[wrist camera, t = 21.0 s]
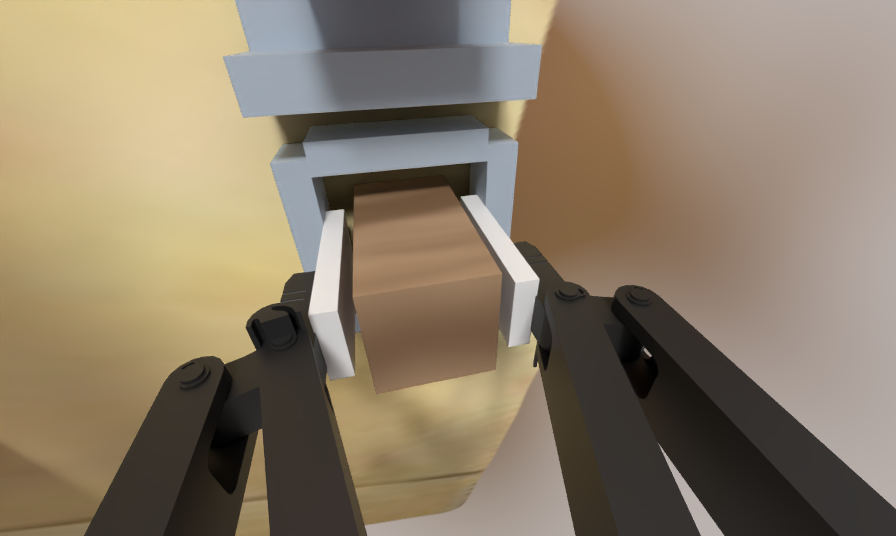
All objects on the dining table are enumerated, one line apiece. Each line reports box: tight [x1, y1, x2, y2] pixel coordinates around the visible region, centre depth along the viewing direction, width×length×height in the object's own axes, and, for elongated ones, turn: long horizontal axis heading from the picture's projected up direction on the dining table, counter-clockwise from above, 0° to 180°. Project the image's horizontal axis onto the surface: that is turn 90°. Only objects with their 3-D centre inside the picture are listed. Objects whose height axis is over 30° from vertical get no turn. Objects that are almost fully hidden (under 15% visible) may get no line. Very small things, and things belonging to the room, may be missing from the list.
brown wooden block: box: [353, 175, 502, 394], centre depth 14 cm, size 4×4×8 cm
